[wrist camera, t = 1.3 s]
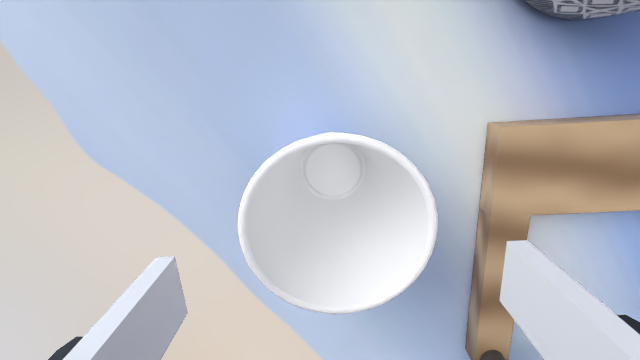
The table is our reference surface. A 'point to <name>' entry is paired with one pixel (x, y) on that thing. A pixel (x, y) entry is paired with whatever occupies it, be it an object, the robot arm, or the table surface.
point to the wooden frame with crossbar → (542, 199)
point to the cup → (337, 223)
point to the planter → (584, 8)
